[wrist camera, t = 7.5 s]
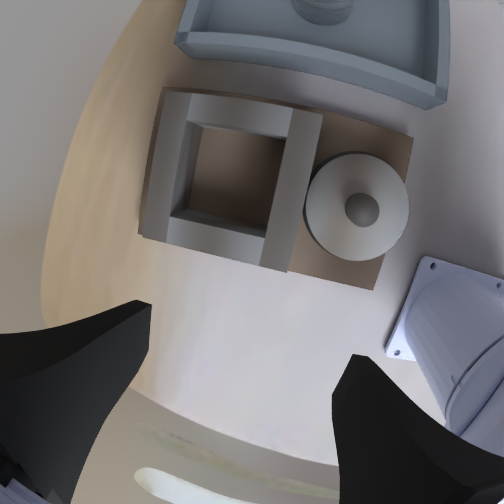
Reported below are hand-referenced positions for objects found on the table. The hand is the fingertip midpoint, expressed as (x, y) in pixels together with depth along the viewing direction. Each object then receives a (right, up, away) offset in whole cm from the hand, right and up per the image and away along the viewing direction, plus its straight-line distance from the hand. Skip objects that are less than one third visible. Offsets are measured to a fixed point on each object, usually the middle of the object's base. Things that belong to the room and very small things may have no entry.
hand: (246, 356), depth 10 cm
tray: (+5, +20, +4) cm, 21 cm away
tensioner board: (+1, +8, +8) cm, 12 cm away
